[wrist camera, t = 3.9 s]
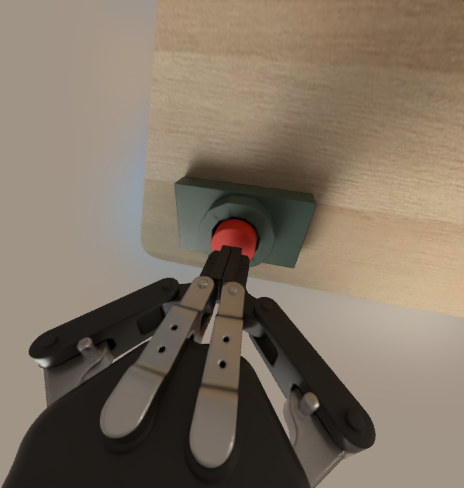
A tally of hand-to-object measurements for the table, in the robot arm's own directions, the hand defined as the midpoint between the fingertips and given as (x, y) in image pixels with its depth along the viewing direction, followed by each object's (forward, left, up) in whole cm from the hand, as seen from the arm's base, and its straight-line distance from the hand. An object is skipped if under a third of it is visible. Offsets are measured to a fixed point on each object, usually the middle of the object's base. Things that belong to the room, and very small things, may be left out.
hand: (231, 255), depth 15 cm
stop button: (0, 0, -3) cm, 3 cm away
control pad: (0, 0, -6) cm, 6 cm away
